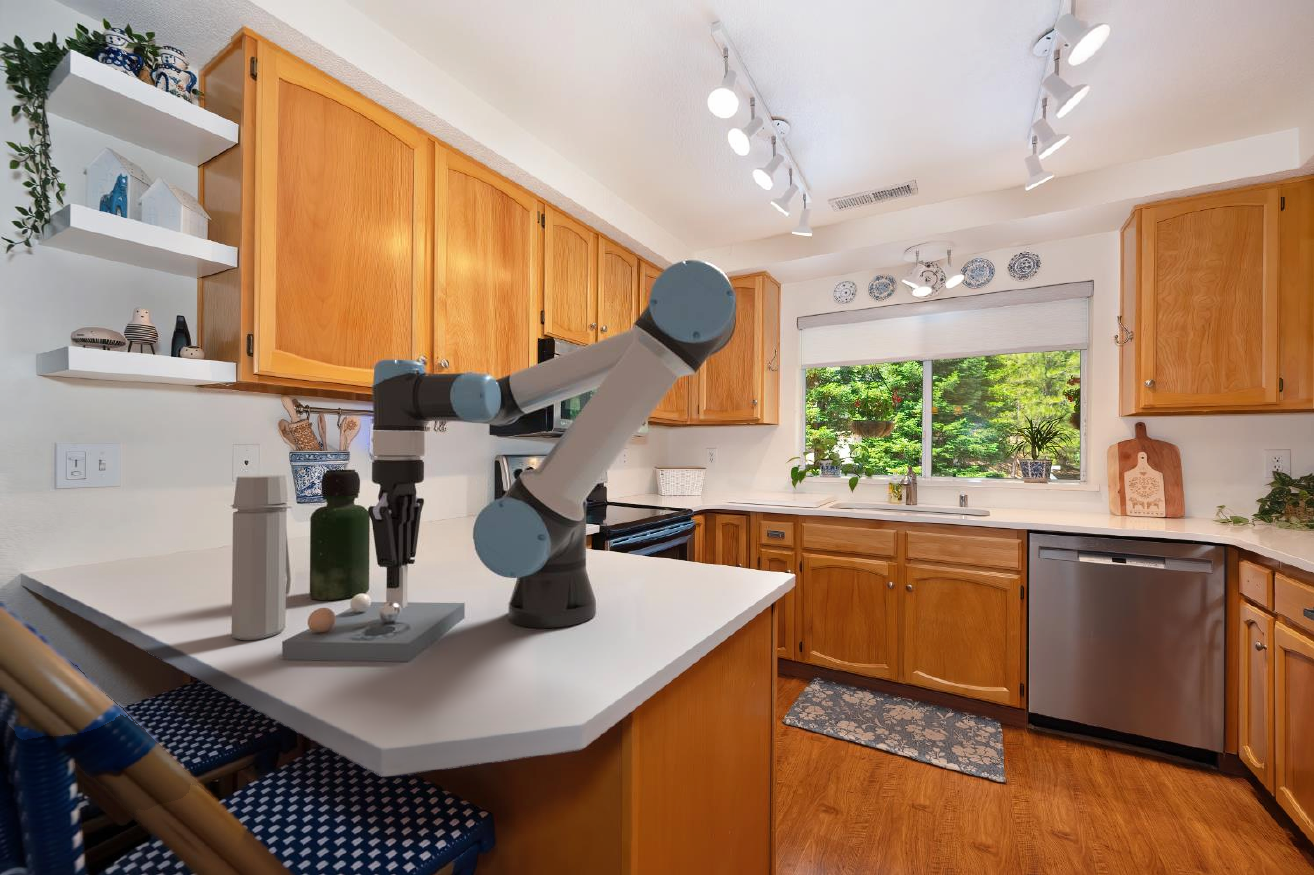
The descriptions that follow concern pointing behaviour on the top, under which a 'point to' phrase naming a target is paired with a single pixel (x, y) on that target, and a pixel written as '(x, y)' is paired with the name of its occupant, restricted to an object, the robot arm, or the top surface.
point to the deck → (376, 634)
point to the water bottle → (260, 557)
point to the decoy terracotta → (321, 620)
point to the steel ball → (390, 612)
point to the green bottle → (339, 540)
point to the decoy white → (360, 603)
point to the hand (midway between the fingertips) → (396, 606)
